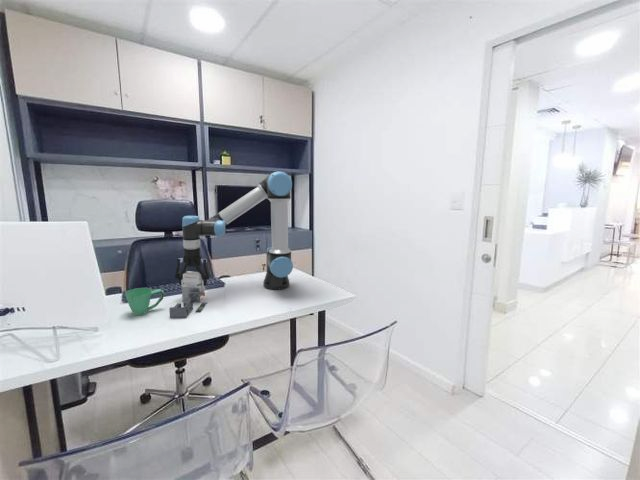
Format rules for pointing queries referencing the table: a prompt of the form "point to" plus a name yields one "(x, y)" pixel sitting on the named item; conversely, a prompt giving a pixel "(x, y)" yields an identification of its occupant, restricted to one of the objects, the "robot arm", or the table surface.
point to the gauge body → (184, 310)
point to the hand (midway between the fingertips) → (193, 291)
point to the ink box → (192, 280)
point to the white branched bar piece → (191, 295)
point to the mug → (141, 299)
